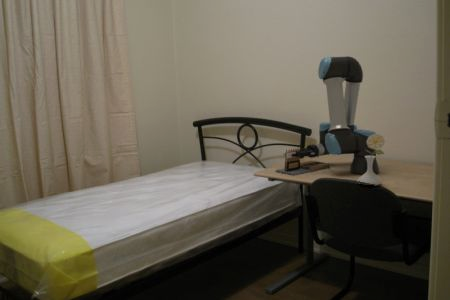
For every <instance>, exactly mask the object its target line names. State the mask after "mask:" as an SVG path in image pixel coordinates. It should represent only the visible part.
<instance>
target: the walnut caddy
mask: <svg viewBox="0 0 450 300" xmlns="http://www.w3.org/2000/svg"><path fill="white" fill-rule="evenodd" d="M330 166H331V165H330V162H321V161H317V160H308V161H302V162H300V168H301V169H306V170H310V172H309V173H311V172H315V171H321V169H322V170H325V169H326V170H327V169H330V168H331V167H330Z"/></svg>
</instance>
